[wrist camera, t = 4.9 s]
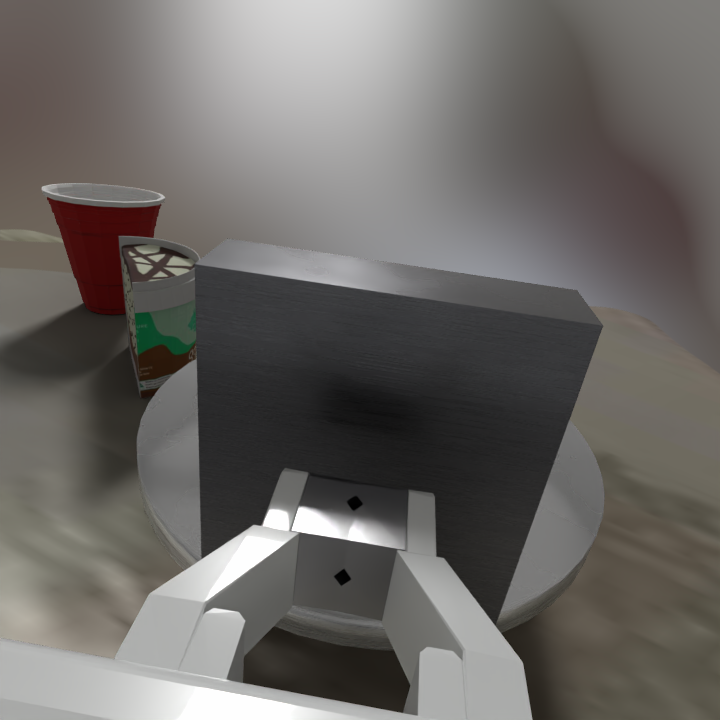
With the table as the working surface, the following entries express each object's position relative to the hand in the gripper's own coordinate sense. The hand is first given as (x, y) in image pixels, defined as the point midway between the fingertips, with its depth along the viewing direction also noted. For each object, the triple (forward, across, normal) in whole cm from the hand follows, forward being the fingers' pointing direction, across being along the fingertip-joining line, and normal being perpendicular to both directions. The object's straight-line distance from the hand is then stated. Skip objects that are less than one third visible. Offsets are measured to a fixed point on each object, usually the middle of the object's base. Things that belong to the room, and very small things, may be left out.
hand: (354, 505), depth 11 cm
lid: (+11, 0, +7) cm, 13 cm away
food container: (+32, +18, +17) cm, 40 cm away
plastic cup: (+43, +29, +17) cm, 54 cm away
